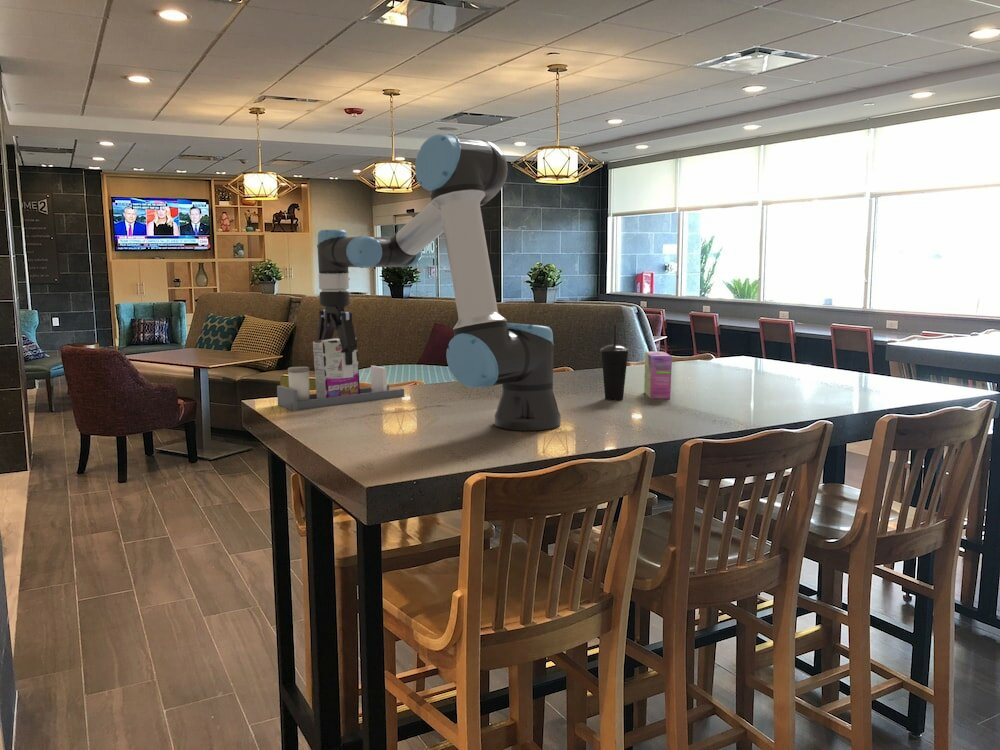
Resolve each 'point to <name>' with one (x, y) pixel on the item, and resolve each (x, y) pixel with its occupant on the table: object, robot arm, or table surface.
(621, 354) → the drinking cup
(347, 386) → the candy bar box
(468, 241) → the robot arm
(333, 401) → the lane
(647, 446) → the table surface
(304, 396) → the jar
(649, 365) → the box
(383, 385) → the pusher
